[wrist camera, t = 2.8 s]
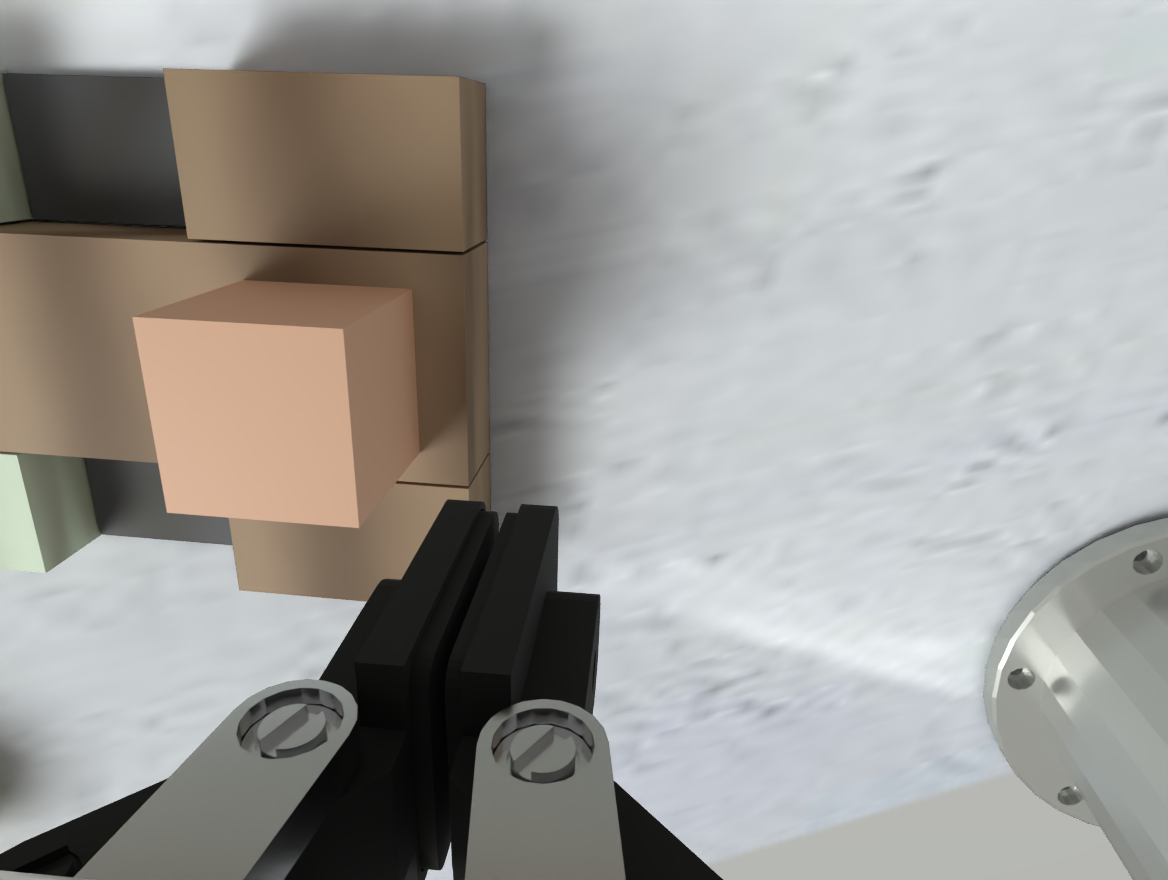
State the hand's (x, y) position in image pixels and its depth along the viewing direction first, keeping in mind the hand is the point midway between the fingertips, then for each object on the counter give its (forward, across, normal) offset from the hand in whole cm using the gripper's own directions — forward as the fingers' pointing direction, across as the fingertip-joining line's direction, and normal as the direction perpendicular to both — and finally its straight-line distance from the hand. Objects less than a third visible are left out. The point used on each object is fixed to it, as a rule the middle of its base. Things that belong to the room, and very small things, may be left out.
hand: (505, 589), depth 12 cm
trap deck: (+15, +15, 0) cm, 21 cm away
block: (+12, +7, 0) cm, 14 cm away
